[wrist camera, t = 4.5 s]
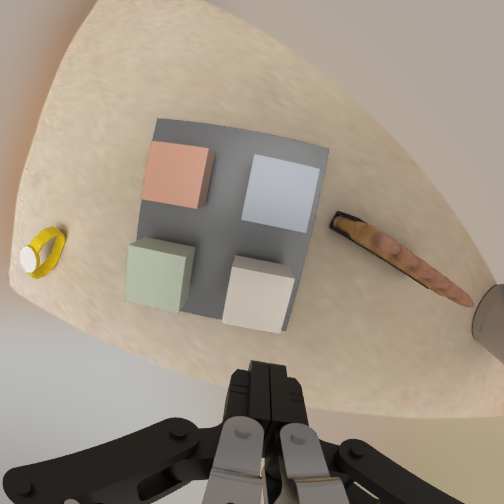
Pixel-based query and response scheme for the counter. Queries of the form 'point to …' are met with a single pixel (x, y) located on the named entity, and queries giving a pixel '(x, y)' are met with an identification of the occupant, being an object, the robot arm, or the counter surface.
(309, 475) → the robot arm
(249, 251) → the keypad board
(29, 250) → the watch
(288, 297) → the cream key
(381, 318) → the counter surface
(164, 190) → the terracotta key
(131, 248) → the sage key
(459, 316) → the counter surface
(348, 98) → the counter surface
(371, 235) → the ammunition clip
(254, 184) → the slate key
